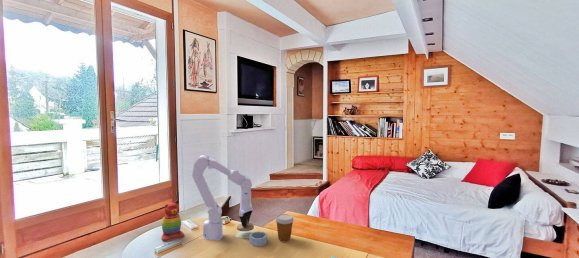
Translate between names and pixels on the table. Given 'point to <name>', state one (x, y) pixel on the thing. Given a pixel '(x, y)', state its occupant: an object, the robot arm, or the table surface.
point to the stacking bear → (171, 223)
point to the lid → (247, 228)
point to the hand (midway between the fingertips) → (245, 225)
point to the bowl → (258, 238)
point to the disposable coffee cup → (284, 227)
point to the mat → (244, 234)
